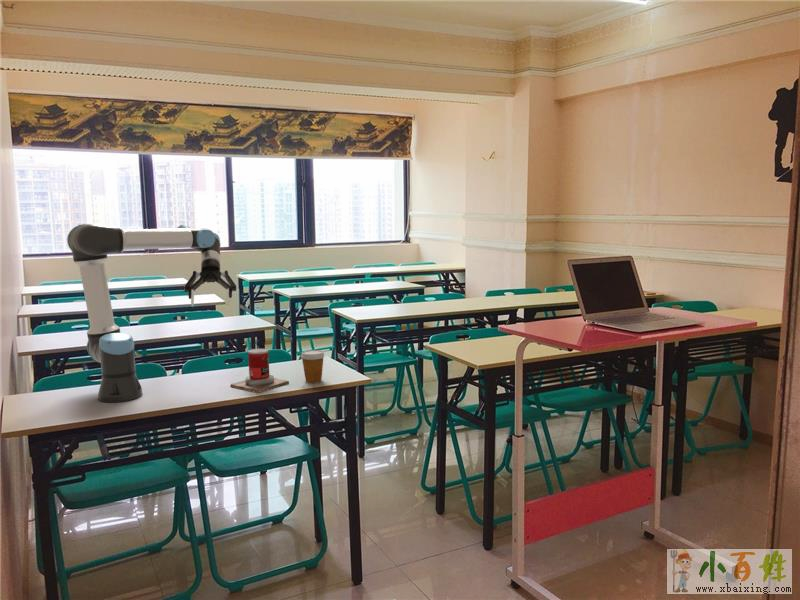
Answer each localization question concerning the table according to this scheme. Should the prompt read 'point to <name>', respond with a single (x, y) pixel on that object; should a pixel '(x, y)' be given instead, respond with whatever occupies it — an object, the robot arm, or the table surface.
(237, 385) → the seat plate
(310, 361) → the disposable coffee cup
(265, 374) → the canned food
